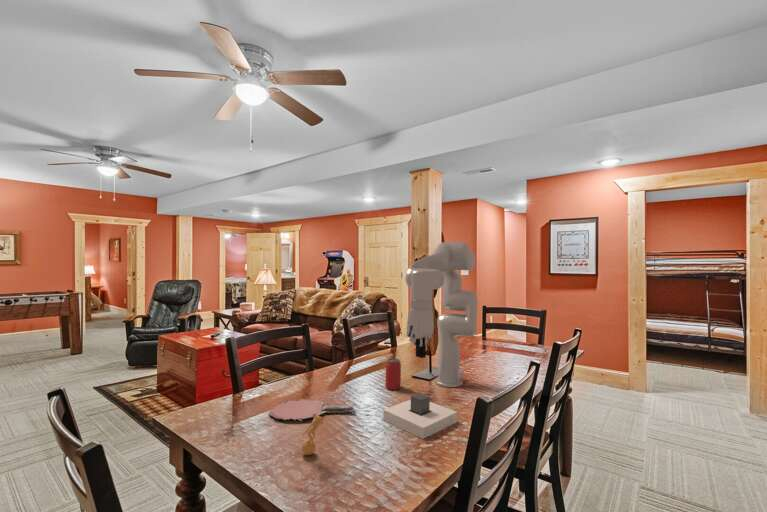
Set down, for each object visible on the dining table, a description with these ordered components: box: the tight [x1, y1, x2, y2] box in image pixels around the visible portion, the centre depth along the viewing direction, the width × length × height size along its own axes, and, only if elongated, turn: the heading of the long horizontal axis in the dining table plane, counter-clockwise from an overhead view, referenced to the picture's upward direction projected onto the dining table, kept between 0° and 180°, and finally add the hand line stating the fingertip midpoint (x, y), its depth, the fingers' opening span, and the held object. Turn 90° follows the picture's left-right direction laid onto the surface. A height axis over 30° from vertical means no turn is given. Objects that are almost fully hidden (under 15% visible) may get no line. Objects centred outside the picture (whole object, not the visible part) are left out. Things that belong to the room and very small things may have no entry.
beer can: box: [384, 358, 402, 391], centre depth 158 cm, size 7×7×12 cm
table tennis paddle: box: [269, 398, 355, 424], centre depth 129 cm, size 18×29×3 cm, turn 74°
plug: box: [410, 392, 431, 416], centre depth 126 cm, size 5×5×8 cm
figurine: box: [301, 413, 325, 456], centre depth 103 cm, size 8×6×12 cm
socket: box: [382, 399, 458, 440], centre depth 126 cm, size 18×18×4 cm
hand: (420, 356), depth 128 cm, fingers closed
